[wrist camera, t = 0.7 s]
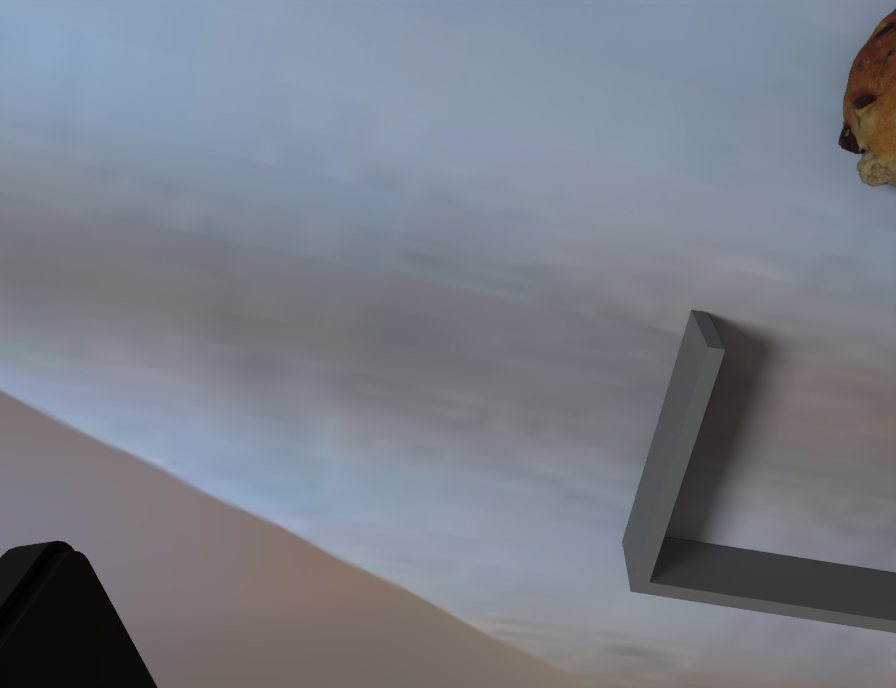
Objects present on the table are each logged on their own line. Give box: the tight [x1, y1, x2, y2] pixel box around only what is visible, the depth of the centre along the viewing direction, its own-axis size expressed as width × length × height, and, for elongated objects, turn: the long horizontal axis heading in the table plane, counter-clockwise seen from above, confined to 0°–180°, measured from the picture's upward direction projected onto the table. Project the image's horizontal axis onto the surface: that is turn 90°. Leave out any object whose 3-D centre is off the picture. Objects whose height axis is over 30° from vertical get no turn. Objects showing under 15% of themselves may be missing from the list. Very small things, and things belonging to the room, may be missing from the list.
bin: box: [622, 310, 896, 633], centre depth 43 cm, size 15×17×4 cm
